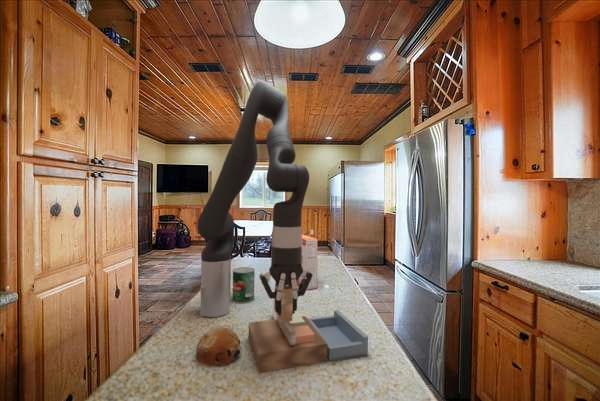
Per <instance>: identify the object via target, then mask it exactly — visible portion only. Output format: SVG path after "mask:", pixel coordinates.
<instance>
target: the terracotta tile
mask: <svg viewBox="0 0 600 401" xmlns="http://www.w3.org/2000/svg"><path fill="white" fill-rule="evenodd" d="M293 328H294V330H295V331H296V340H295V344H298V343H305V342H312V341H315V334H314V333H313V331H312V330H311V329H310V328H309V326H308V325H305V326H297V327H293Z"/></svg>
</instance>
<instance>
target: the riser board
mask: <svg viewBox="0 0 600 401" xmlns="http://www.w3.org/2000/svg"><path fill="white" fill-rule="evenodd" d="M301 317H302V318H303V320H304V321H305V325H308V326H309V328H310V329H311V330H312V331H313V333H314V334H315V341H312V342H305V343H298V344H295V345H290V344H289V342H288V340H287V338H286V336H285V335H284V333H283V331H282V329H281V327H280V325H279V323H278V322H277V319H276V320H275V319H270V320H261V321H250V322H248V341H249V345H250V348H251V351H252V355H253V358H254V361H255V364H256V369H257V371H258V373H263V372H268V371H269V372H270V371H276V370H281V369H287V368H294V367H300V366H304V365H305V366H306V365H311V364H317V363H323V362H328V359H327V343H326V341H325V340H324V339H323V338H322V336H321V335H320V334H319V333H318V331H317V330H316V329H315V328H314V326H313V325H312V324H311V323H310V321H309V320H308V317H307V316H305V315H304V316H303V315H302V316H301Z"/></svg>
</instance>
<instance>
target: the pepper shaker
mask: <svg viewBox="0 0 600 401" xmlns="http://www.w3.org/2000/svg"><path fill="white" fill-rule="evenodd" d="M274 308H275V299H273V298H272V317H273V320H276V319H277V313H276V311H275V309H274Z"/></svg>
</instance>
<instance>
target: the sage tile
mask: <svg viewBox="0 0 600 401" xmlns="http://www.w3.org/2000/svg"><path fill="white" fill-rule="evenodd" d="M289 322H290V323H291V325H292V327H297V326H305V321H304V320H303V318H302V316H301V314H300V313H298V314H292V321H289Z"/></svg>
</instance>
